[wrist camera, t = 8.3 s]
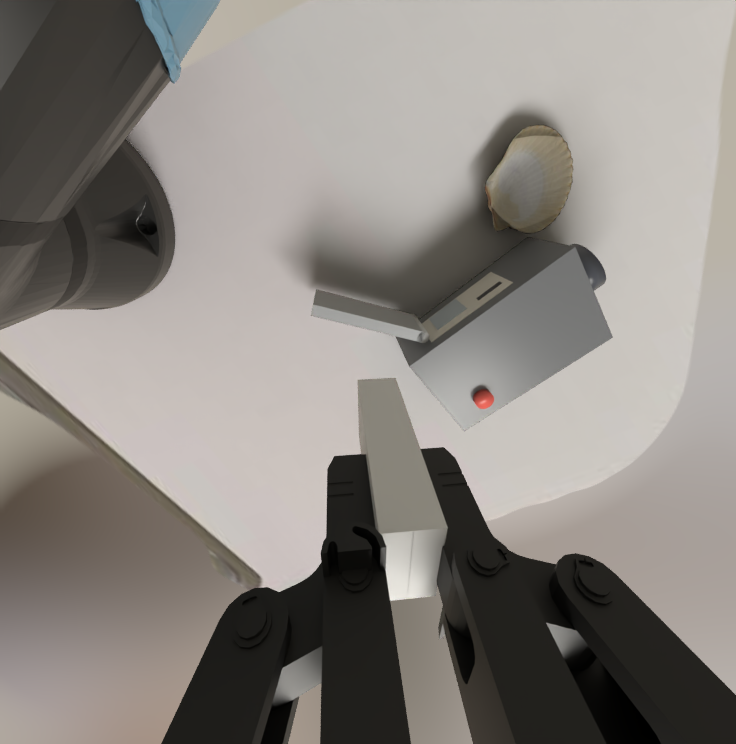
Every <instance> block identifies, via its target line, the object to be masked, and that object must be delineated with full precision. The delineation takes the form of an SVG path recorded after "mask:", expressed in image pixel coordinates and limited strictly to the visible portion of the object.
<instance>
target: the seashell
mask: <svg viewBox="0 0 736 744" xmlns="http://www.w3.org/2000/svg"><path fill="white" fill-rule="evenodd" d="M572 163H573V159H572V158H571V152H570V150H569V148H568V144H567V142H565V141H564V139H563V137H562V136H561V135H560V134H559V133H558V132H557V131H556V130H554V129H552V128H550V127H548V126H545V125H535V126H529V127H527V128H524V129H522V130H521V132H520V133H519V134H518V135H516V136H515V137H514V139H513V140H512V142H511V143H510V145H509V147H508V149H507V151H506V152H505V154H504V157H503V159H502V161H501V162H500V163H499V164H498V166H497V167H496V168H495V170H494V172H493V173H492V174H491V175H490V176H489V178H488V179H487V182H486V184H485V192H486V194H487V196H488V207H489V209H490V210H491V212H492V216H493V223H494V229H495V230H496V231H500V230H504V229H506V228H510V229H516V230H519V231H520V232H522V233H526V234H532V233H536V232H539V231H541V230H543V229H544V228H546V227H547V226H549V225H550V224H551V223H552V222H553V221H554V220H555V219H556V217H557V216H558V215H559V214H560V211H561V209H562V208H563V207H564V205H565V201H566V200H567V197H568V194H569V191H570V189H571V183H572V173H573V166H572Z"/></svg>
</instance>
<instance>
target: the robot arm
mask: <svg viewBox="0 0 736 744" xmlns="http://www.w3.org/2000/svg"><path fill="white" fill-rule="evenodd" d="M219 2H220V0H0V330H1V329H4V328H6V327H9V326H11V325H14V324H16V323H19V322H21V321H23V320H26V319H28V318H31V317H33V316H36V315H38V314H40V313H43V312H45V311H48V310H50V309H89V310H98V309H108V308H113V307H118V306H121V305H124V304H127V303H129V302H132V301H133V300H135V299H137V298H139V297H141V296H143V295H145V294H147V293H149V292H150V291H151V290H153V289H154V288H155V287H156V286H157V285H158V284H159V283H160V282H161V281H162V280H163V278H164V277H165V275H166V273H167V272H168V270H169V268H170V265H171V262H172V259H173V255H174V249H175V229H174V222H173V218H172V213H171V210H170V207H169V204H168V201H167V199H166V196H165V194H164V192H163V190H162V188H161V186H160V184H159V182H158V180H157V179H156V177H155V175H154V174H153V172H152V171H151V169H150V168H149V166H148V165H147V164H146V162H145V161H144V160H143V159H142V157H141V156H140V155H139V154H138V153H137V152H136V151H135V149H134V148H133V147H132V146H131V145H130V144H129V143H128V142H127V141H126V140H125V138H126V137H127V136H128V134H129V133H130V132H131V131H132V129H133V128H134V127H135V125H136V124H137V123H138V121H139V120H140V119H141V118H142V116H143V115H144V114H145V112H146V111H147V110H148V109H149V107H150V106H151V105H152V103H153V102H154V101H155V99H156V98H157V97H158V96H159V94H160V93H161V92H162V90H163V89H164V88H165V87H166V85H167V84H168V83H169V81H171V82H172V83H175V82H176V81H177V80H178V79H179V77H180V71H181V67H180V63H181V61H182V60H183V58H184V57H185V55H186V54H187V52H188V51H189V49H190V47H191V46H192V44H193V43H194V41H195V40H196V38H197V37H198V35H199V34H200V32H201V30H202V29H203V28H204V26H205V25H206V23H207V21H208V20H209V18H210V17H211V15H212V14H213V12H214V11H215V9H216V7H217V6H218V4H219ZM358 412H359V439H360V447H361V454H359V455H345V456H334V458H333V460H332V462H331V464H330V466H329V467H328V476H327V535H326V539H325V540H324V542H323V546H322V550H321V560H322V562H321V564H320V565H319V567H318V568H317V570H316V571H315V572H314V573H313V574H312V575H311V576H310V577H308V578H307V579H305V580H303V581H302V582H300V583H298V584H296V585H294V586H292V587H290V588H287V589H285V590H283V591H281V592H277V591H275V590H272V589H270V588H267V587H266V588H254V589H252V590H250V591H247V592H245V593H243V594H241V595H240V596H239V597H238V598H237V599H235V600H234V601H233V602H232V603H231V604H230V605H229V606H228V608H227V609H226V611H225V612H224V614H223V616H222V617H221V619H220V620H219V622H218V625H217V627H216V629H215V631H214V633H213V635H212V637H211V639H210V642H209V644H208V646H207V648H206V650H205V652H204V655H203V657H202V658H201V661H200V663H199V665H198V667H197V669H196V671H195V673H194V675H193V678H192V680H191V682H190V684H189V686H188V688H187V690H186V693H185V695H184V697H183V699H182V701H181V703H180V705H179V708H178V710H177V712H176V714H175V716H174V718H173V720H172V722H171V724H170V726H169V729H168V731H167V733H166V735H165V737H164V739H163V741H162V743H161V744H288V741H289V737H290V733H291V729H292V724H293V720H294V716H295V712H296V708H297V704H298V699H299V696H300V695H302V694H303V693H305V692H307V691H308V690H310V689H312V688H313V687H315V686H317V685H318V684H320V683H322V688H321V737H320V744H411V741H410V734H409V728H408V721H407V714H406V707H405V700H404V693H403V686H402V680H401V673H400V666H399V659H398V653H397V646H396V638H395V632H394V624H393V618H392V611H391V604H390V601H392V600H401V599H410V598H419V597H428V596H435V595H436V590H437V585H438V588H439V592H440V596H441V600H442V603H443V608H442V612H441V618H440V622H439V627H438V628H439V638H440V639H442V638H444V634H445V635H446V639H447V643H448V647H449V651H450V655H451V658H452V663H453V666H454V670H455V674H456V678H457V682H458V686H459V690H460V694H461V698H462V702H463V705H464V709H465V713H466V717H467V721H468V725H469V729H470V733H471V737H472V741H473V744H736V695H735V694H734V693H733V692H732V691H731V690H730V689H729V688H728V687H727V686H726V685H725V684H724V683H723V682H722V681H721V680H720V679H719V678H718V677H717V676H716V675H715V674H714V673H713V672H712V671H711V670H710V669H709V668H708V667H707V666H706V665H705V664H704V663H703V662H702V661H701V660H700V659H699V658H698V657H697V656H696V655H695V654H694V653H693V652H692V651H691V650H690V649H689V648H688V647H687V646H686V645H685V644H684V643H683V642H682V641H681V640H680V638H679V637H677V635H676V634H675V633H673V631H671V630H670V628H669V627H667V625H666V624H665V623H664V622H663V621H661V619H660V618H659V617H658V616H657V615H656V614H655V613H654V612H653V611H652V610H651V609H650V608H649V607H648V606H646V604H645V603H644V602H643V601H642V600H641V599H640V598H639V597H638V596H637V595H636V594H635V593H634V592H633V591H632V590H631V589H630V588H629V587H628V586H627V585H626V584H625V583H624V582H623V581H622V580H621V579H620V578H619V577H618V576H617V575H616V574H615V573H613V572H612V571H611V570H610V569H609V568H607V567H606V566H605V565H604V564H603V563H600V562H599V561H596V560H595V559H593V558H591V557H589V556H585V555H580V554H576V553H575V554H569V555H565V556H563V557H562V558H561V559H560V560H559V561H558V562H557V564H551V563H546V562H543V561H538V560H534V559H529V558H525V557H522V556H519V555H517V554H515V553H513V552H511V551H509V550H508V549H507V548H506V547H505V546H504V545H503V544H502V543H501V542H499V541H498V540H497V539H496V538H494V537H493V535H492V534H491V532H490V530H489V529H488V527H487V525H486V522H485V520H484V518H483V516H482V514H481V512H480V510H479V507H478V505H477V503H476V501H475V499H474V497H473V495H472V493H471V490H470V488H469V486H467V482H466V480H465V478H464V476H463V474H462V471H461V469H460V467H459V465H458V463H457V461H456V459H455V457H453V456H452V455H451V454H450V453H449V452H448V451H447V450H446V449H445V448H444V447H442V448H428V449H420V447H419V444H418V441H417V438H416V435H415V432H414V430H413V427H412V424H411V421H410V418H409V415H408V412H407V409H406V407H405V404H404V401H403V398H402V395H401V392H400V389H399V387H398V384H397V381H396V378H385V379H366V380H358Z"/></svg>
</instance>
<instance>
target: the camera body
mask: <svg viewBox="0 0 736 744" xmlns="http://www.w3.org/2000/svg"><path fill="white" fill-rule="evenodd" d="M605 281H606V275H605V271H604V268H603V266H602V265H601V263H600V261H599V260H598V259H597V258H596V256H595V255H594V254H593V253H592V252H590V251H589V250H588V249H586V248H585V247H583V246H581V245H578V244H572V245H570V246H569V245H564V244H559V243H554V242H549V241H544V240H539V239H534V238H529V237H527V238H526V239H525V240H524V241H522V242H521V243H520V244H518V245H517V246H516V247H514V248H513V249H512V250H510V251H509V252H508V253H506V254H505V255H504V256H502V257H501V258H500V259H498V260H497V261H496V262H494V263H493V264H492V265H490V266H489V267H488V268H487V269H485V270H484V271H483V272H481V273H480V274H479V275H477V276H476V277H475V278H473V279H472V280H471V281H469V282H468V283H467V284H465V285H464V286H463V287H461V288H460V289H459V290H457V291H456V292H455V293H453V294H452V295H451V296H449V297H448V298H447V299H446V300H444V301H443V302H442V303H440V304H439V305H438V306H436V307H435V308H434V309H432V310H431V311H430V312H428V313H427V314H426V315H424V316H423V317H422V318H420V319H419V321H420V322H421V324H422V325H423V327H424V328H425V330H426V331H427V332H428V334H429V340H428V341H427V342H426V343H420V342H417V341H413V340H409V339H405V338H401V337H396V338H397V340H398V343H399V345H400V347H401V349H402V351H403V354H404V356H405V358H406V360H407V363H408V365H409V367H410V368H411V369H412V370H413V372H414V373H415V374H416V375H417V376H418V377H419V379H420V380H421V381H422V382H423V383H424V385H425V386H426V387H427V388H428V389H429V391H430V392H431V393H432V394H433V395H434V396H435V398H436V399H437V400H438V401H439V402H440V404H441V405H442V406H443V407H444V408H445V410H446V411H447V412H448V413H449V414H450V415H451V417H452V418H453V419H454V420H455V421H456V423H457V424H458V425H459V426H460V427H461V429H462V430H463V431H466V430H467V429H469V428H470V427H472V426H473V425H475V424H477V423H478V422H480V421H481V420H483V419H485V418H486V417H488V416H489V415H491V414H492V413H494V412H496V411H497V410H499V409H500V408H502V407H504V406H505V405H507V404H508V403H510V402H511V401H513V400H515V399H516V398H518V397H519V396H521V395H522V394H524V393H526V392H527V391H529V390H530V389H532V388H534V387H535V386H537V385H538V384H540V383H541V382H543V381H545V380H546V379H548V378H549V377H551V376H553V375H554V374H556V373H557V372H559V371H560V370H562V369H564V368H565V367H567V366H568V365H570V364H572V363H573V362H575V361H576V360H578V359H579V358H581V357H583V356H584V355H586V354H587V353H589V352H590V351H592V350H594V349H595V348H597V347H598V346H600V345H602V344H603V343H605V342H606V341H608V340H609V339H611V338H613V337H612V334H611V332H610V329H609V327H608V325H607V322H606V320H605V317H604V315H603V313H602V310H601V308H600V305H599V303H598V300H597V298H596V296H595V293H594V290H596V289H597V288H599V287H600V286H602V285H603V284H604V283H605Z"/></svg>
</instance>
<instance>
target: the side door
mask: <svg viewBox="0 0 736 744" xmlns="http://www.w3.org/2000/svg"><path fill="white" fill-rule="evenodd" d="M311 316H314V317H318V318H322V319H326V320H330V321H334V322H338V323H343V324H347V325H351V326H355V327H359V328H363V329H367V330H372V331H376V332H380V333H384V334H388V335H392V336H396V337H401V338H405V339H409V340H413V341H417V342H420V343H426V342H427V341H428V340H429V334H428V332H427V331H426V330H425V328H424V327H423V325H422V324H421V322H420V321H419V320H418V318H417V317H416V315H414V314H409V313H405V312H402V311H398V310H394V309H390V308H386V307H382V306H378V305H375V304H371V303H367V302H363V301H359V300H355V299H352V298H348V297H344V296H340V295H336V294H332V293H328V292H325V291H321V290H317V289H316V293H315V298H314V303H313V308H312V313H311Z"/></svg>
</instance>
